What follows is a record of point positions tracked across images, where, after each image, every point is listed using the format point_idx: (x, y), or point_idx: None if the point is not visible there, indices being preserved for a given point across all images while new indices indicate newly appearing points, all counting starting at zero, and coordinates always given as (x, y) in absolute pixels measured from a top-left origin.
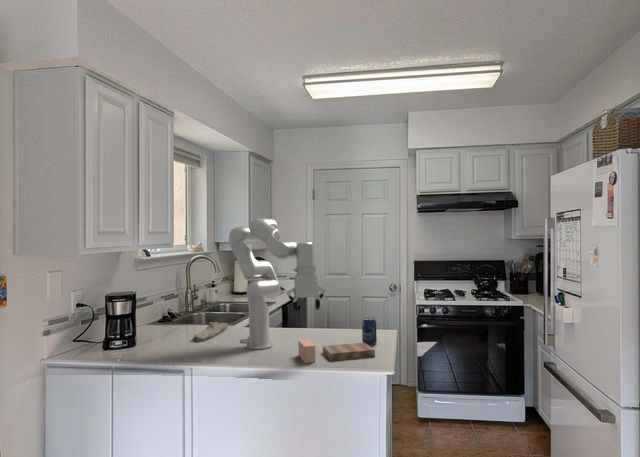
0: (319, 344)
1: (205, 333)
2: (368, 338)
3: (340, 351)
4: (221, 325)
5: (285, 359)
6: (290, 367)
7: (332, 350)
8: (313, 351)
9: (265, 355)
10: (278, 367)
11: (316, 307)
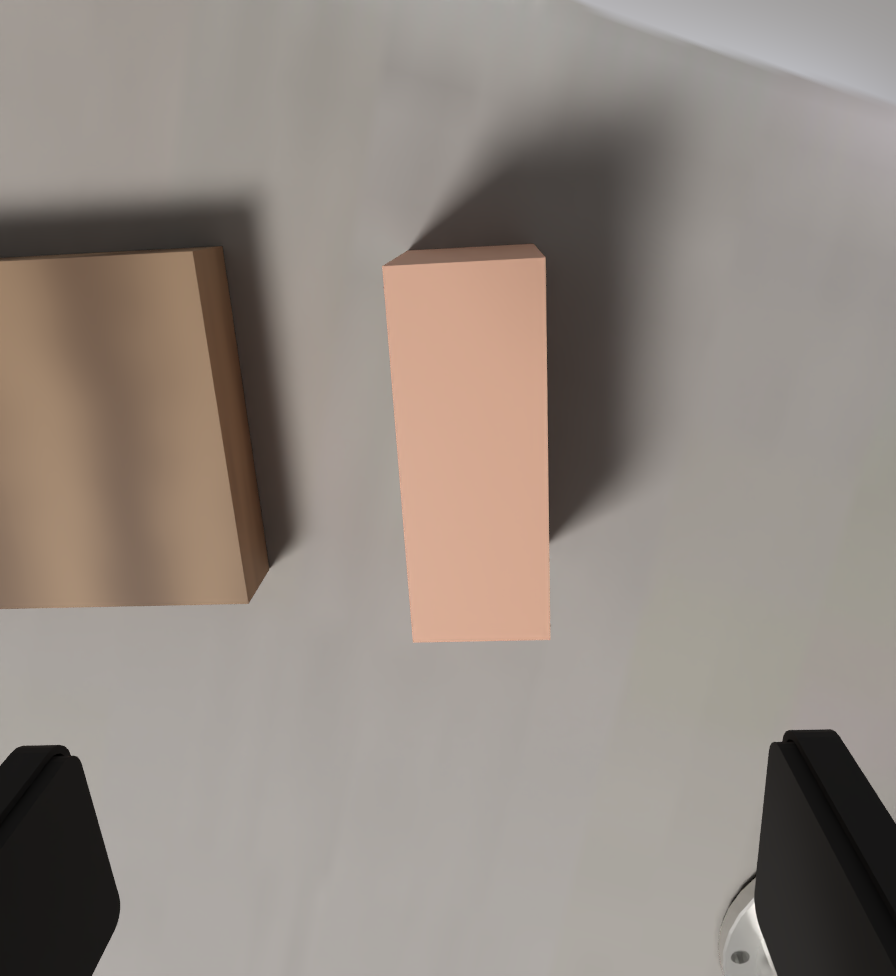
0: (260, 842)
1: None
2: None
3: (61, 321)
4: None
5: (713, 446)
6: (739, 112)
7: (155, 393)
8: (415, 259)
9: (881, 644)
10: (877, 154)
11: (71, 867)
